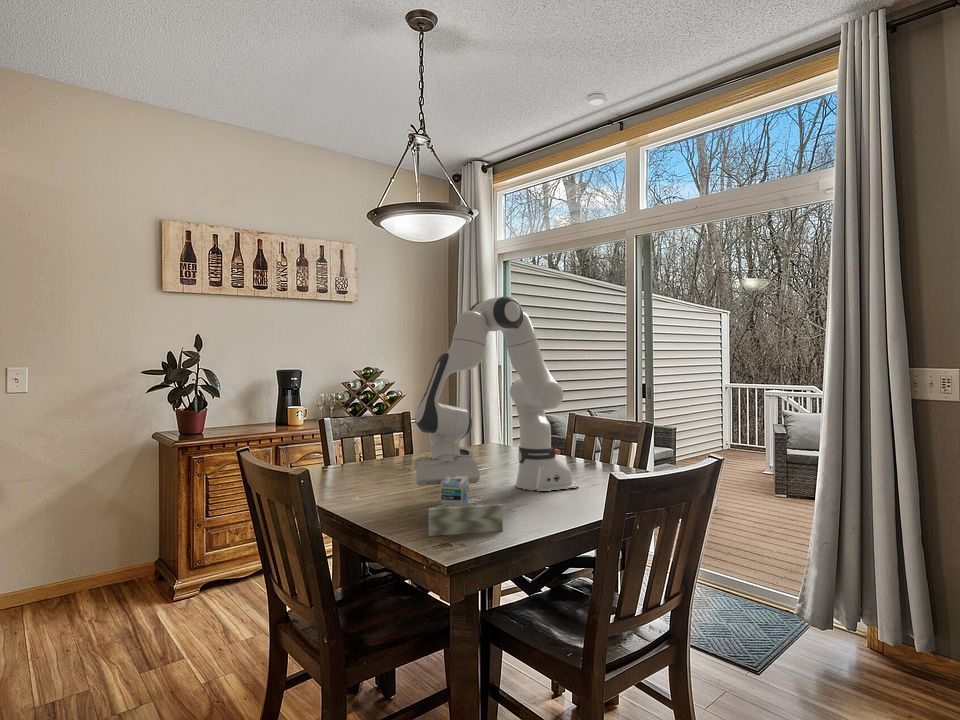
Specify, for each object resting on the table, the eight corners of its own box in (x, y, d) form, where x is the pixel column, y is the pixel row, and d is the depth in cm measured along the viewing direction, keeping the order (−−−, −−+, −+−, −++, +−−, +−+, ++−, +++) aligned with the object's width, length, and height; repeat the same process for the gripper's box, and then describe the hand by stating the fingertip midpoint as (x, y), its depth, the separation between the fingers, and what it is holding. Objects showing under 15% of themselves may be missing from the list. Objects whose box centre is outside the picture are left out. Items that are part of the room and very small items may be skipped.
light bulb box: (463, 521, 166) (464, 483, 166) (440, 520, 167) (440, 482, 166) (469, 510, 176) (469, 475, 176) (447, 509, 177) (447, 474, 177)
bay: (489, 516, 171) (489, 492, 171) (502, 531, 157) (502, 505, 157) (422, 520, 166) (422, 495, 166) (429, 536, 152) (429, 509, 152)
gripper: (413, 452, 182) (417, 491, 173) (477, 450, 187) (483, 488, 178) (412, 464, 187) (415, 502, 178) (474, 461, 191) (480, 498, 182)
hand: (450, 495), depth 178 cm, fingers closed
